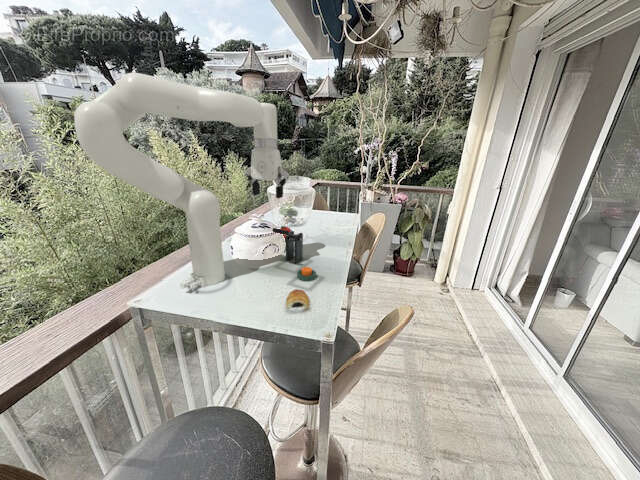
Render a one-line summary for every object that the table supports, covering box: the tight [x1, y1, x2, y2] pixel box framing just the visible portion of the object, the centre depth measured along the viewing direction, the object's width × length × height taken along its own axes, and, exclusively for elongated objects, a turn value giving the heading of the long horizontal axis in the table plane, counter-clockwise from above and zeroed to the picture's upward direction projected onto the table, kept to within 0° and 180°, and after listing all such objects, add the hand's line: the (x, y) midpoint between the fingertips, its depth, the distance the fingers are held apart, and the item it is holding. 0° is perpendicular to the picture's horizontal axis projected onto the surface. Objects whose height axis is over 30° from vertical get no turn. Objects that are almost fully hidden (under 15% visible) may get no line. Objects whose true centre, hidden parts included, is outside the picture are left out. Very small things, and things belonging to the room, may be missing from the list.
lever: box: [272, 227, 297, 241], centre depth 97 cm, size 12×6×2 cm
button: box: [301, 266, 313, 276], centre depth 92 cm, size 4×4×2 cm
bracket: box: [285, 230, 304, 265], centre depth 103 cm, size 12×9×13 cm
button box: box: [296, 268, 317, 283], centre depth 92 cm, size 10×8×3 cm
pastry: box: [286, 288, 310, 311], centre depth 79 cm, size 9×7×4 cm
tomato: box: [280, 225, 292, 242], centre depth 126 cm, size 9×9×8 cm
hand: (267, 196), depth 94 cm, fingers open, 9 cm apart
